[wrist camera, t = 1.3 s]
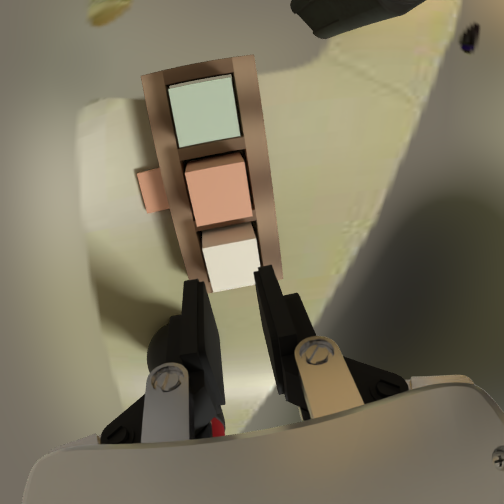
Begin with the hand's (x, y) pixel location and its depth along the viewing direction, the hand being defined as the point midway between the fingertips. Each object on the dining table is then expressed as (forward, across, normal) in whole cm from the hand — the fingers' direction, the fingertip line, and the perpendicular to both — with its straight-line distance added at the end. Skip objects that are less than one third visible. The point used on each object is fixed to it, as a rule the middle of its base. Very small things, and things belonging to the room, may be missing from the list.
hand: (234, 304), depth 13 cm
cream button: (+18, 0, +6) cm, 19 cm away
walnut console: (+19, 0, 0) cm, 19 cm away
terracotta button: (+18, 0, 0) cm, 18 cm away
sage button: (+18, 0, -6) cm, 19 cm away
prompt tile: (+19, +6, 0) cm, 20 cm away
